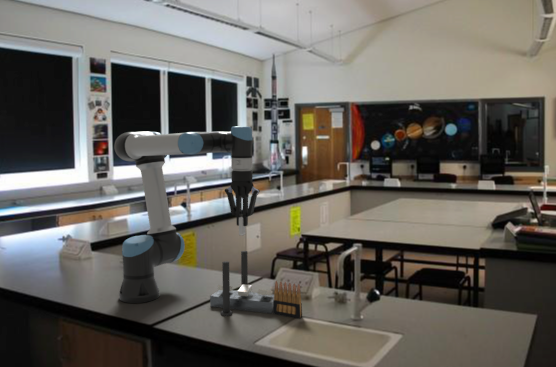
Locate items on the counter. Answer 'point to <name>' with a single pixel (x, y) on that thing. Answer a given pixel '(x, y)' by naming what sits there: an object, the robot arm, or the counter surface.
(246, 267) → the cord post far
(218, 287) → the paddle left
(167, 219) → the robot arm
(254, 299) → the breaker panel
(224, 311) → the cord post near
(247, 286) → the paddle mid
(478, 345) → the counter surface
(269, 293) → the paddle right
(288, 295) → the ammunition clip
